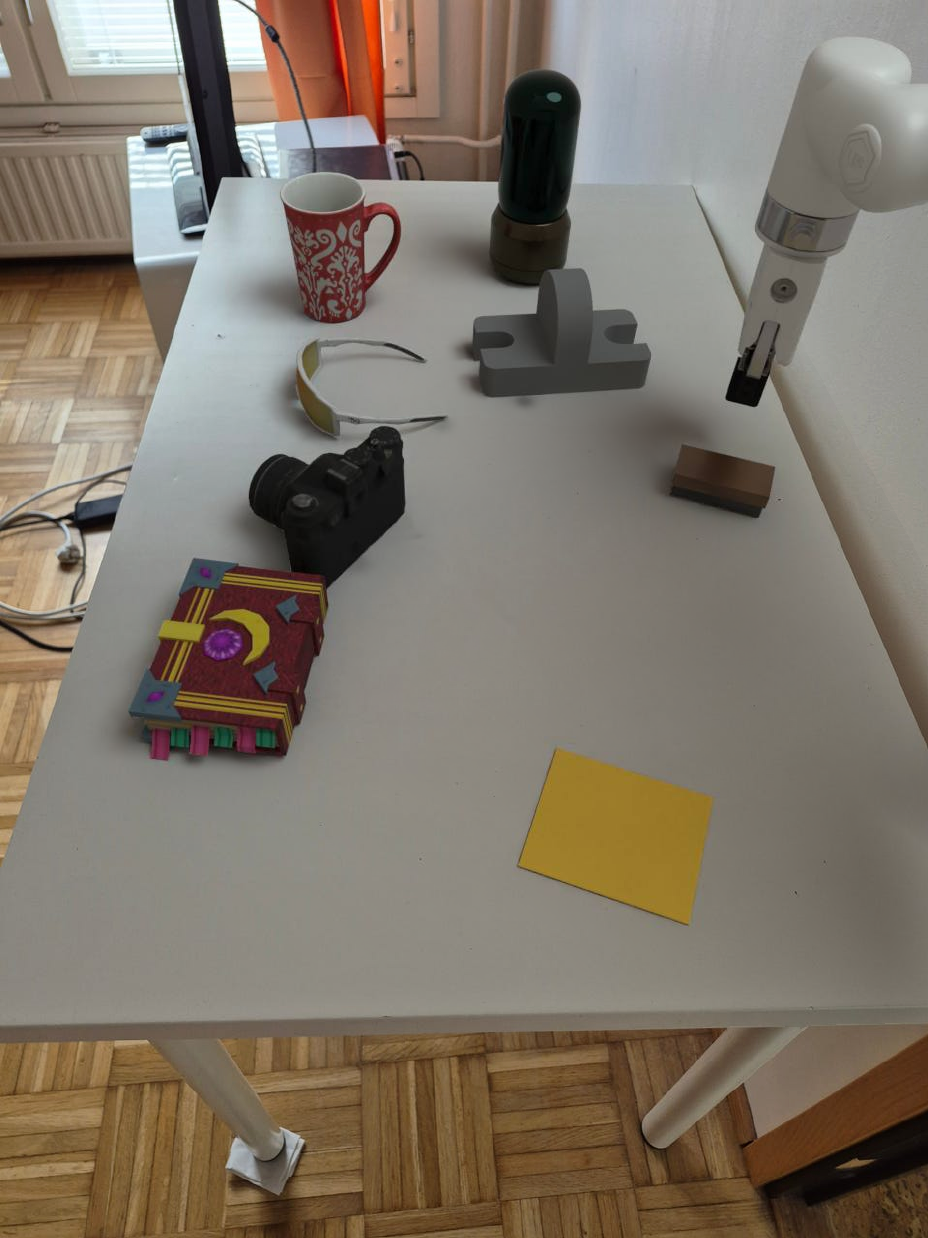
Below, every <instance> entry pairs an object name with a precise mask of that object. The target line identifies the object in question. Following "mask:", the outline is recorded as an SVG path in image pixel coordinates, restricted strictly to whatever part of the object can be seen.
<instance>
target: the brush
mask: <svg viewBox="0 0 928 1238" xmlns="http://www.w3.org/2000/svg"><path fill="white" fill-rule="evenodd" d="M775 472H776V466H774V465H771V464H767V463H762V462H758V461H754V460H750V459H745V458H742V457H738V456H733V455H729V454H725V453H721V452H718V451H713V450H709V449H705V448H701V447H696V446H693V445H690V444H689V445H688V444H685V443H682V444H681V447H680V450H679V454H678V457H677V459H676V464H675V467H674V470H673V473H672V476H671V480H670V486H671V488H670V492H669V496H670V497H675V498H679V499H682V500H687V501H690V502H693V503H697V504H698V503H699V504H702V505H706V506H710V507H714V508H717V509H720V510H721V509H722V510H725V511H729V512H732V513H737V514H740V515H744V516H749V517H753V518H757V519H759V518H760V515H761V513H762V510H763V509H766V507H767V505H768V503H769V501H770V498H771V493H772V488H773V483H774V477H775Z"/></svg>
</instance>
